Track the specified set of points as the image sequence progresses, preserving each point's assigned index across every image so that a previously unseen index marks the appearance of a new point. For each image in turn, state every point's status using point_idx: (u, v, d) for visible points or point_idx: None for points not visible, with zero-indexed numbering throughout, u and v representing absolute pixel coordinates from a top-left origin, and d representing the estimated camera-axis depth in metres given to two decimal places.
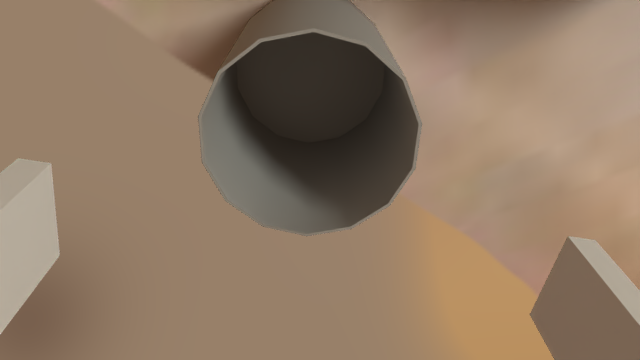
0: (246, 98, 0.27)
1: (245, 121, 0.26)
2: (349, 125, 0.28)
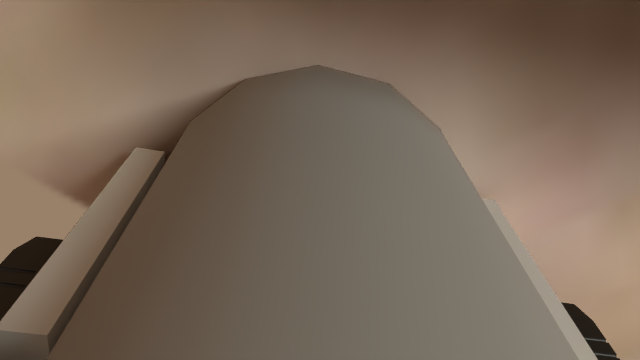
0: None
1: None
2: None
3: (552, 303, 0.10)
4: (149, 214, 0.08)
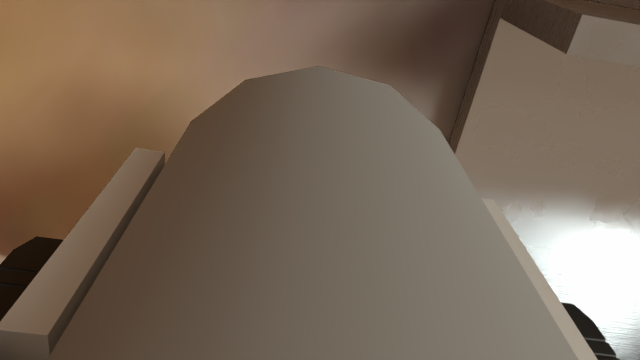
0: None
1: None
2: None
3: (552, 303, 0.10)
4: (149, 216, 0.08)
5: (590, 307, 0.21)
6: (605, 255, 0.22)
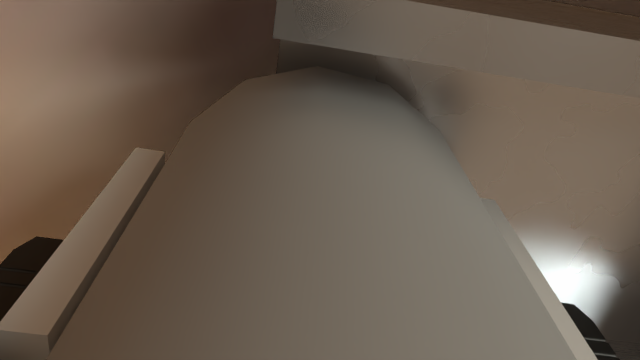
0: None
1: None
2: None
3: (552, 303, 0.10)
4: (148, 215, 0.08)
5: None
6: None
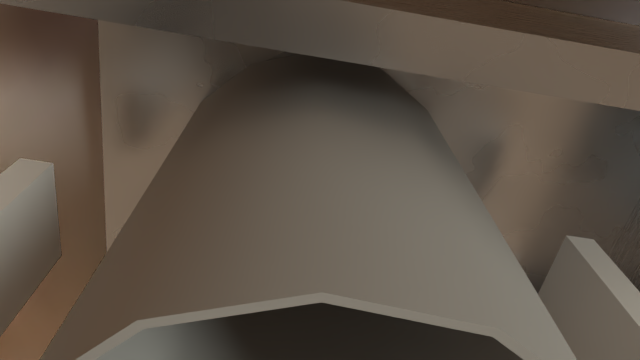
0: None
1: None
2: None
3: None
4: (169, 172, 0.09)
5: None
6: None
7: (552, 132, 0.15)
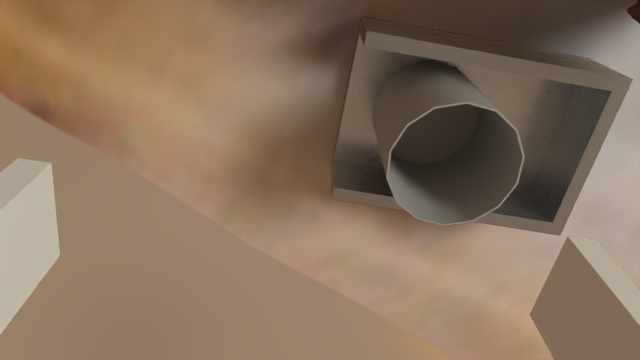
0: None
1: None
2: (450, 152, 0.40)
3: None
4: (404, 94, 0.33)
5: None
6: None
7: (521, 92, 0.38)
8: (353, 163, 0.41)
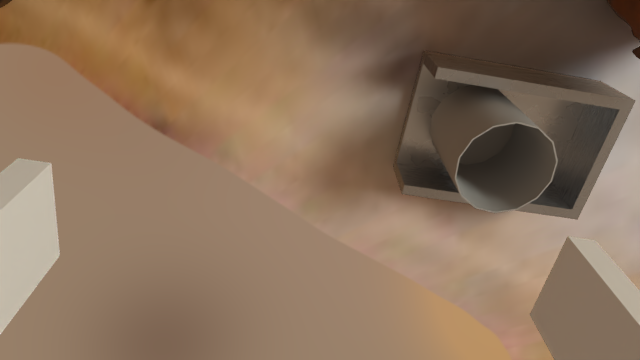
0: None
1: (440, 153, 0.48)
2: (490, 155, 0.50)
3: None
4: (463, 113, 0.43)
5: None
6: None
7: (547, 108, 0.49)
8: (412, 164, 0.52)
